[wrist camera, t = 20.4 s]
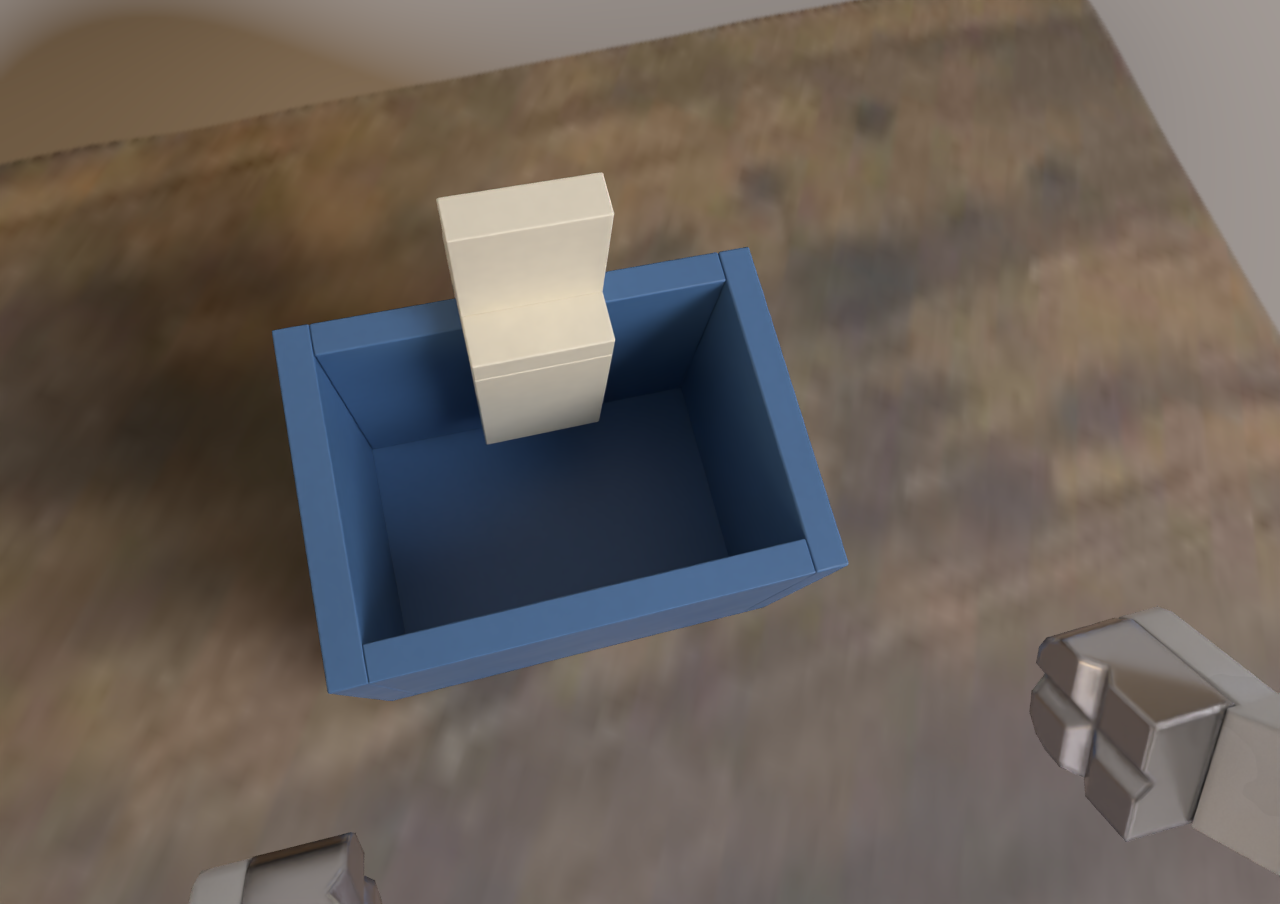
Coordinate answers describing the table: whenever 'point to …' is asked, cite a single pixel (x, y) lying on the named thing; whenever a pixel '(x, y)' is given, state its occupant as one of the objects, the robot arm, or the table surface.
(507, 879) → the table surface
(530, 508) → the box
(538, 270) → the cream l-shaped step block
